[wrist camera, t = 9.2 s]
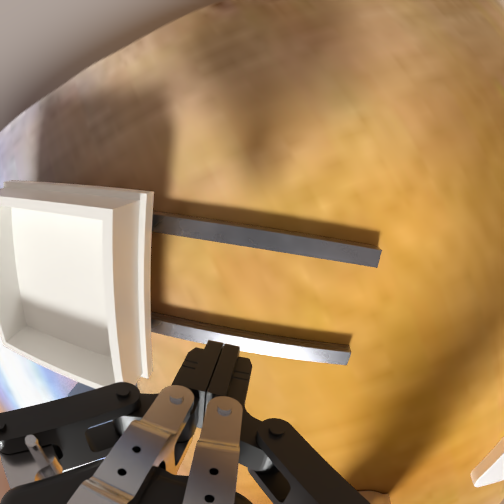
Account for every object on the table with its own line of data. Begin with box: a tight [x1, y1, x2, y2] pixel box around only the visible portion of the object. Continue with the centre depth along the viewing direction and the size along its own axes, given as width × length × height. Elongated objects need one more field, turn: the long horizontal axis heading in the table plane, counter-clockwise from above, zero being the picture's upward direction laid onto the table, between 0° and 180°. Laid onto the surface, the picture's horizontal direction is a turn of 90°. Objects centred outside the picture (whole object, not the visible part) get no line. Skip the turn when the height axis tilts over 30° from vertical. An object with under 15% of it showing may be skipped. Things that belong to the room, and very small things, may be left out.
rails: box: [151, 211, 382, 365], centre depth 22 cm, size 30×9×1 cm, turn 82°
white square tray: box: [0, 180, 154, 389], centre depth 19 cm, size 13×13×6 cm
